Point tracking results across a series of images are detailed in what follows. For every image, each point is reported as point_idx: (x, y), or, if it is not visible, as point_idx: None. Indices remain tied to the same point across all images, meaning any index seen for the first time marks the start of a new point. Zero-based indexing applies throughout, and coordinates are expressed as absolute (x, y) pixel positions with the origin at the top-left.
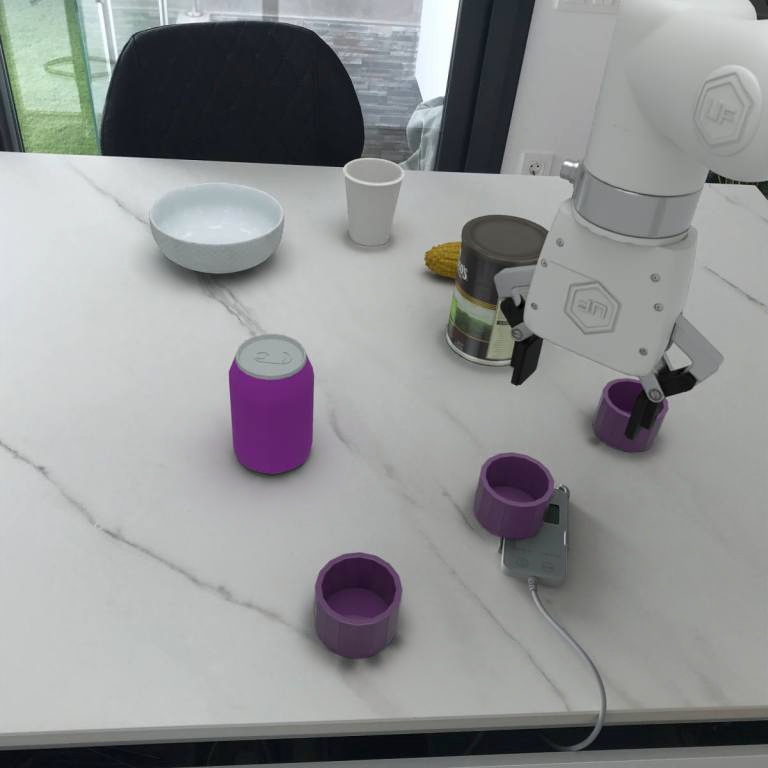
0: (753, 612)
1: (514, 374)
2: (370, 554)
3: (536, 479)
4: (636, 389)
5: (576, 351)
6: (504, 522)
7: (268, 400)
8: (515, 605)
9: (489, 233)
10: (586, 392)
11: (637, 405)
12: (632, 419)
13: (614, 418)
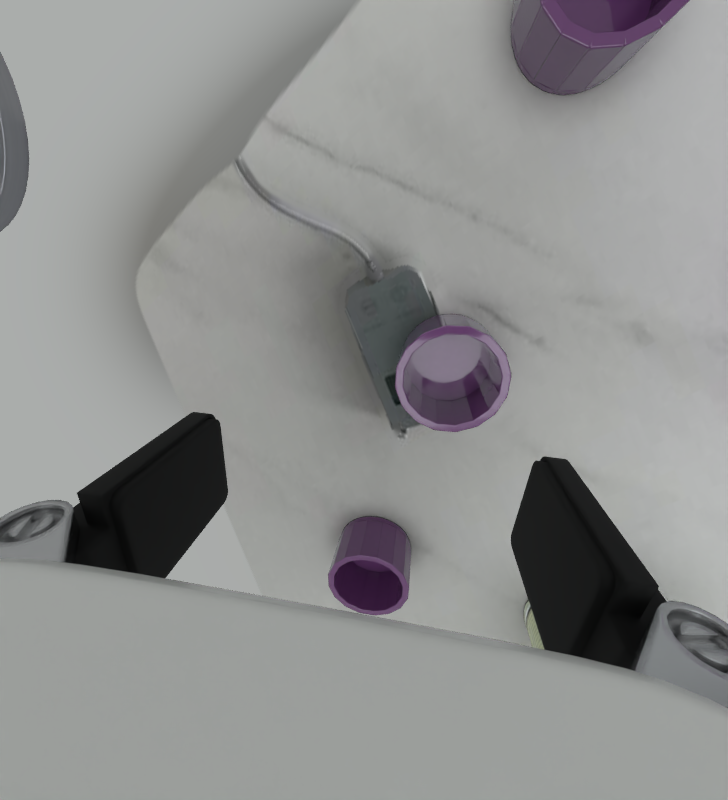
0: (176, 379)
1: (573, 478)
2: (637, 39)
3: (429, 409)
4: (376, 601)
5: (321, 625)
6: (440, 319)
7: None
8: (378, 221)
9: None
10: (433, 580)
11: (126, 476)
12: (168, 443)
13: (380, 548)
